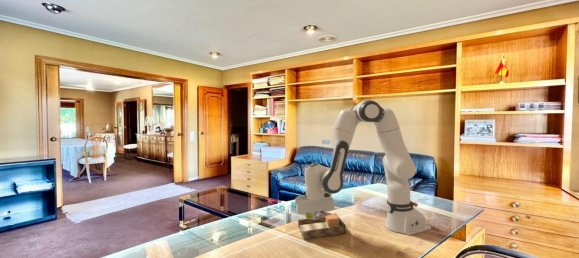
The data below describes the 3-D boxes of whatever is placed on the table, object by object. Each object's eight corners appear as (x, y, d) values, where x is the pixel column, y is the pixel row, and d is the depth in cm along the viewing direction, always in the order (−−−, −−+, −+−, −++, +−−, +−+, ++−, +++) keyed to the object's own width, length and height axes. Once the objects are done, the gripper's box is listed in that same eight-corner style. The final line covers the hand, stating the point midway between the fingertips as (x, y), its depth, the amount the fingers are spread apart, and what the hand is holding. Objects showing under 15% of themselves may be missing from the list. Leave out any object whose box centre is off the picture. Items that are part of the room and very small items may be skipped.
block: (336, 221, 142) (335, 214, 142) (339, 225, 137) (338, 218, 137) (325, 222, 141) (325, 215, 141) (328, 226, 136) (328, 219, 136)
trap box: (336, 221, 147) (335, 213, 147) (345, 234, 132) (345, 224, 132) (298, 226, 144) (297, 217, 144) (303, 239, 129) (303, 230, 129)
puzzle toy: (322, 218, 153) (321, 202, 152) (305, 217, 155) (305, 201, 154) (323, 211, 163) (323, 196, 162) (308, 211, 165) (307, 195, 164)
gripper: (296, 198, 132) (298, 224, 133) (334, 193, 135) (336, 218, 136) (293, 194, 138) (296, 219, 139) (330, 189, 141) (332, 214, 142)
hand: (316, 219), depth 137 cm, fingers closed
